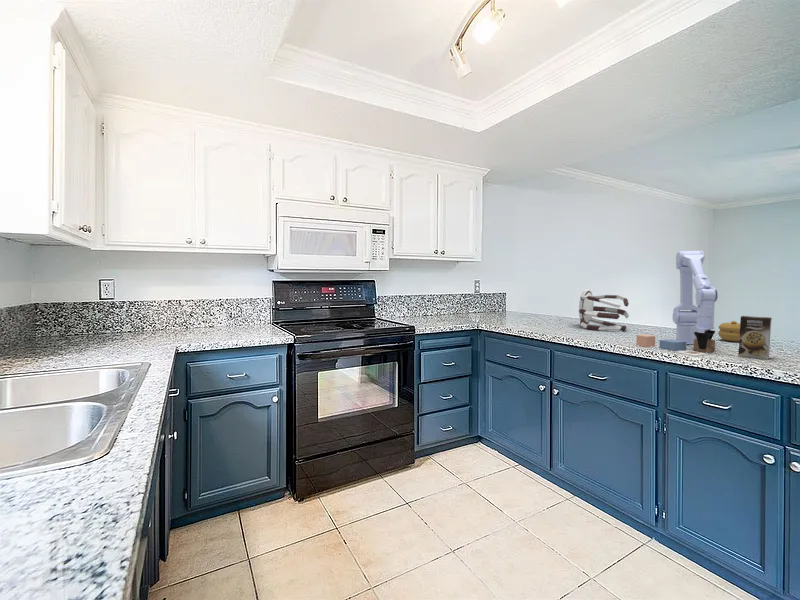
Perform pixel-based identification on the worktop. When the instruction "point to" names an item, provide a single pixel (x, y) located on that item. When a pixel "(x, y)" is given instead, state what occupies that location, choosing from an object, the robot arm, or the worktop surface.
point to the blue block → (672, 345)
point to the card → (692, 353)
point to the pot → (730, 331)
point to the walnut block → (709, 347)
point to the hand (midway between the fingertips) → (704, 347)
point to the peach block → (645, 340)
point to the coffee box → (754, 337)
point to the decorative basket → (588, 308)
